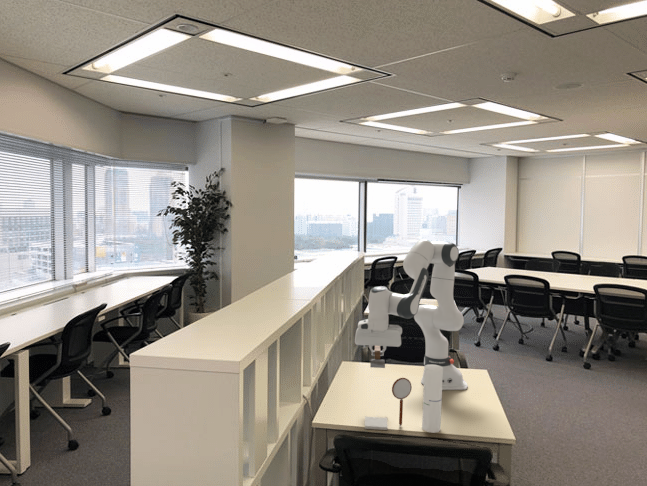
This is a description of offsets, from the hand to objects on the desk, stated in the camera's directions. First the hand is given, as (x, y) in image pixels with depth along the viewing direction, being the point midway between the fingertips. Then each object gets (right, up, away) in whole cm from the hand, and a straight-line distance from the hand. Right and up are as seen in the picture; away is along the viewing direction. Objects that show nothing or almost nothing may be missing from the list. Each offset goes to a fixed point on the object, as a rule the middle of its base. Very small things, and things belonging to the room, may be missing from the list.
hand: (377, 355), depth 218 cm
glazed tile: (-2, -24, -12) cm, 27 cm away
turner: (0, -2, 0) cm, 2 cm away
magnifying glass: (+7, -25, -17) cm, 31 cm away
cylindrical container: (+19, -25, -19) cm, 37 cm away
